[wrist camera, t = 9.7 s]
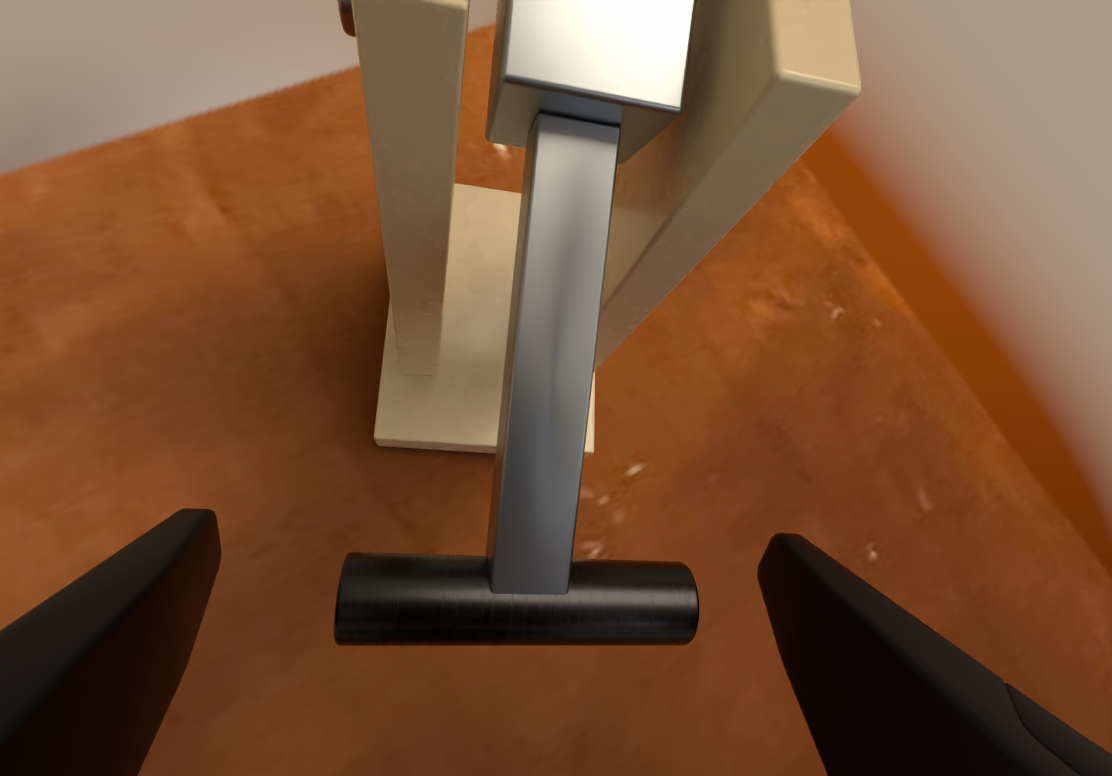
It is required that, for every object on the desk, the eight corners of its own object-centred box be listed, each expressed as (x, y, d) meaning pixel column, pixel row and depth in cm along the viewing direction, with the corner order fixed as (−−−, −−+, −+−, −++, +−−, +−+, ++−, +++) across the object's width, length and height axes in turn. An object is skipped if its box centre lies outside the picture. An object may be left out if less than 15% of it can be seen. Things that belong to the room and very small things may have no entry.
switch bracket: (583, 459, 18) (935, 260, 5) (376, 446, 16) (245, 153, 4) (587, 224, 20) (844, -288, 8) (405, 197, 19) (371, -457, 6)
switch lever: (651, 602, 10) (712, 687, 8) (351, 598, 9) (320, 694, 7) (729, -1, 9) (826, -110, 7) (403, -79, 8) (387, -237, 6)
